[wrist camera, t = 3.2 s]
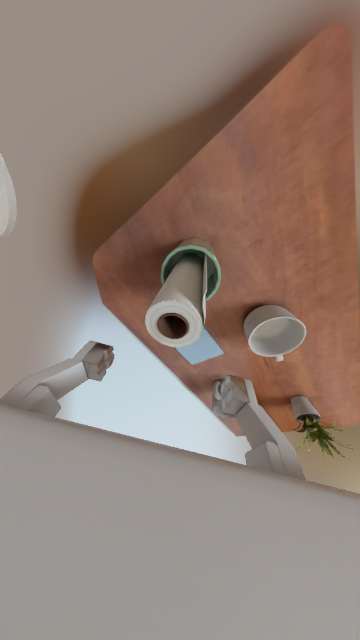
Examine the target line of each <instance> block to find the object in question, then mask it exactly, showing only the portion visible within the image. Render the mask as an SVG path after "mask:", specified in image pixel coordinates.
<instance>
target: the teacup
mask: <svg viewBox="0 0 360 640" xmlns="http://www.w3.org/2000/svg"><path fill="white" fill-rule="evenodd" d="M244 333H245V336H246V338H247V341H248V345H249V347H250V349H251V350H252V351H253V352H254V353H256V354H258V355H261V356H267V357H272V356H273V357H274V359H275V360H276V361H277V362H280V361H282V360H283V356H282V355H284V354H286V353H288V352H291V351H293V350H294V349H296V348H297V347H298V346H299V345H300V344H301V343H302V342H303V340H304V338H305V336H306V327H305V325H304V324H303V323H302V322H301V321H300V320H298V319H297V318H296V317H295V316H294V315H293V314H291V313H290V312H289V311H288V310H286V309H285V308H283V307H280V306H277V305H265V306H261V307H259V308H257V309H255V310H253V311H252V312H251V313H250V314H249V315H248V316H247V317H246V319H245V322H244Z"/></svg>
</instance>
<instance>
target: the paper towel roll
mask: <svg viewBox="0 0 360 640" xmlns="http://www.w3.org/2000/svg"><path fill="white" fill-rule="evenodd" d="M206 292H207V254H205V253H204V263H203V261H202V259H201V258H200V257H199V256H198V255H196V254H193V253H189V254H185V255H183V256H182V257H181V258H180V259H179V260H178V262H177V263H176V265H175V267H174V268H173V270H172V272H171V273H170V275H169V276H168V278H167V280H166V281H165V283H164V285H163V286H162V288H161V289H160V291H159V293H158V294H157V296H156V297H155V299H154V301H153V302H152V304H151V306H150V307H149V309H148V310H147V312H146V317H145V325H146V328H147V331H148V332H149V334H150V335H151V336H152V337H153V338H154V339H155V340H157V341H158V342H160V343H161V344H164V345H167V346H170V347H184V346H188V345H191V344H192V343H194V342H195V341H196V340H198V339H199V337H200V334H201V332H202V330H203V326H204V323H205V294H206Z"/></svg>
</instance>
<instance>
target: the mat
mask: <svg viewBox="0 0 360 640" xmlns="http://www.w3.org/2000/svg"><path fill="white" fill-rule="evenodd" d="M175 348H176V349H177V350H178V351H179V353H180V354H181V355H182V356H183V357H184V358H185V359H186V360H187V361H188V362H189V363H190V364H191V365H193V364H196V363H199V362H202V361H205V360H207V359H210V358H213V357H216V356H219V355H221V354H224V352H223V350H222V349H221V348H220V347H219V345H218V344H217V343H216V341H215V340H214V339H213V338H212V336H211V335H210V334H209V332H208V331H207V330H206V329H205V327H204V326H203V330H202V332H201V334H200V337H199V339H198V340H196V341H195V342H194V343H192V344H191V345H188V346H184V347H175Z"/></svg>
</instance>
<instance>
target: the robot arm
mask: <svg viewBox="0 0 360 640" xmlns="http://www.w3.org/2000/svg"><path fill="white" fill-rule="evenodd" d="M112 351H113V346H109V345H105V344H101V343H98V342H94V341H90V342H88V343H87V344H86V345H85V346H84V347H83V348H82V349H81V350H80V351H79V352H78V353H77V354H76V355H75V356H74V358H73V359H68V360H65V361H63V362H61V363H58V364H56V365H54V366H52V367H49V368H47V369H45V370H43V371H40V372H38V373H36V374H33V375H31V376H29V377H27V378H24V379H23V380H22V381H20V382H19V383H18V384H17V385H16V386H15V387H14V388H12V389H11V390H10V391H9V392H8V393H7V394H6V395H4V396H3V397H2V398H1V399H0V640H360V494H358V493H354V492H350V491H346V490H342V489H338V488H334V487H330V486H326V485H322V484H318V483H314V482H310V481H306V480H305V477H304V475H303V472H302V469H301V466H300V464H299V461H298V459H297V456H296V453H295V451H294V448H293V446H292V445H291V444H290V442H289V441H288V440H287V439H286V437H285V436H284V435H283V434H282V432H281V431H280V430H279V428H278V427H277V426H276V425H275V423H274V422H273V421H272V420H271V418H270V417H269V416H268V415H267V413H266V412H265V411H264V409H263V408H262V407H261V406H260V405H258V402H257V399H256V395H255V392H254V388H253V385H252V382H251V380H248V379H244V378H240V377H236V376H232V375H227V376H226V380H225V381H223V383H222V385H221V396H222V397H223V400H222V401H221V402H222V412H226V413H229V414H233V415H235V417H236V419H237V421H238V423H239V425H240V427H241V428H242V430H243V432H244V434H245V436H246V437H247V440H248V441H249V443H250V445H251V447H252V450H250V451H248V452H247V453H246V454H245V457H246V464H247V465H243V464H238V463H234V462H230V461H227V460H223V459H219V458H214V457H211V456H207V455H203V454H198V453H195V452H191V451H187V450H183V449H179V448H175V447H171V446H167V445H163V444H159V443H155V442H151V441H147V440H143V439H139V438H135V437H131V436H127V435H123V434H119V433H115V432H111V431H107V430H103V429H99V428H95V427H91V426H87V425H83V424H79V423H75V422H71V421H67V420H63V419H59V418H55V416H56V414H57V413H58V412H59V410H60V409H61V406H60V404H59V403H58V401H57V400H58V399H60V398H61V397H63V396H64V395H66V394H67V393H68V392H70V391H71V390H73V389H74V388H76V387H77V386H79V385H80V384H82V383H83V382H85V381H86V380H88V379H93V380H97V381H101V380H102V378H103V377H104V376H105V374H106V369H107V368H109V367H110V366H111V364H112V362H113V359H114V354H113V352H112Z"/></svg>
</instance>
